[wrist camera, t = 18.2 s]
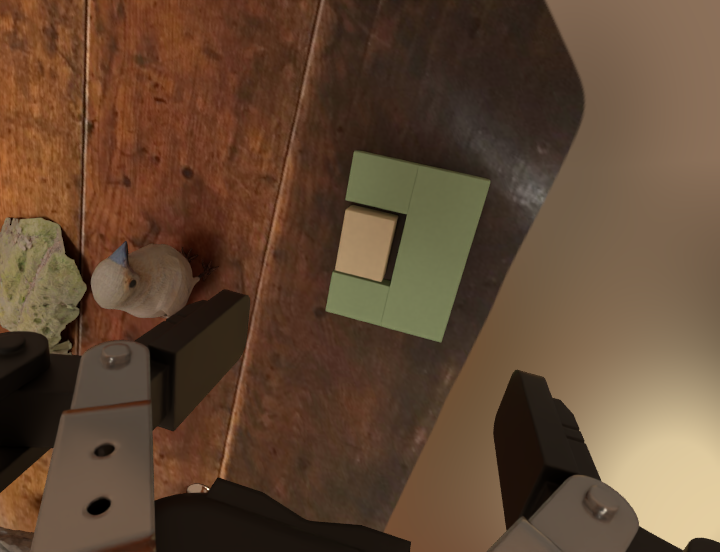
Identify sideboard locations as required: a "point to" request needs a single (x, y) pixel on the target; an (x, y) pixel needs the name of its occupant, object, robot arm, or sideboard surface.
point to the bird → (146, 280)
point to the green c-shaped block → (412, 244)
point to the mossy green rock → (38, 281)
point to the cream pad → (366, 242)
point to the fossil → (15, 540)
